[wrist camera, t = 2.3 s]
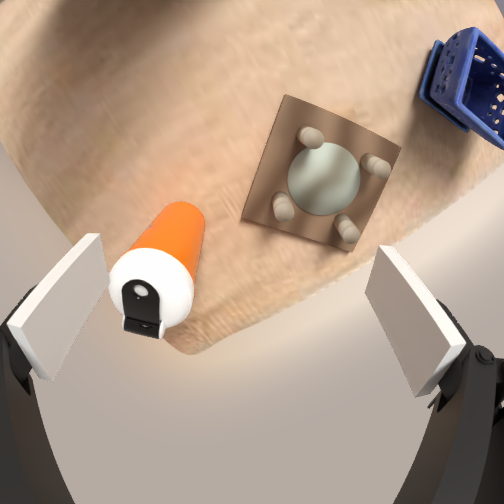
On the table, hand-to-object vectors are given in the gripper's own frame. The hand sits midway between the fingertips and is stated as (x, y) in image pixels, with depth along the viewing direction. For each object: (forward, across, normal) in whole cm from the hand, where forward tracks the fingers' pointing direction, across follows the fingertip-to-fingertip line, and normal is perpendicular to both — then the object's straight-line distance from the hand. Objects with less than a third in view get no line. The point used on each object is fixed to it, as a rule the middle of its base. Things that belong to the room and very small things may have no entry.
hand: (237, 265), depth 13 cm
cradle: (+27, +11, -2) cm, 30 cm away
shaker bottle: (+28, -9, -10) cm, 31 cm away
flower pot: (+28, +30, +17) cm, 44 cm away
